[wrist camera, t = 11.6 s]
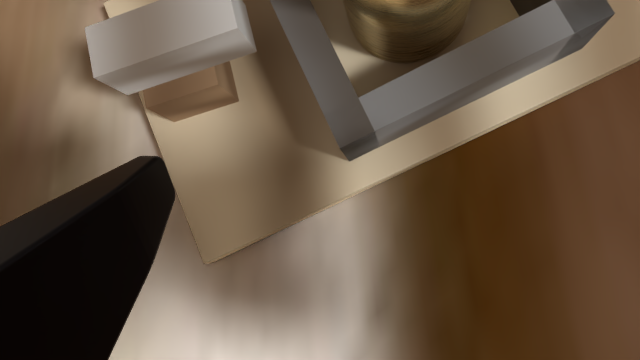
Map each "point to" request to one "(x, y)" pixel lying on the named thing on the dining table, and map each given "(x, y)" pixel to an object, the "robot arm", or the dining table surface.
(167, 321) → the dining table surface
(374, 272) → the dining table surface
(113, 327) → the robot arm
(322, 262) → the dining table surface
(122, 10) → the shaft station
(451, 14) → the coupler
